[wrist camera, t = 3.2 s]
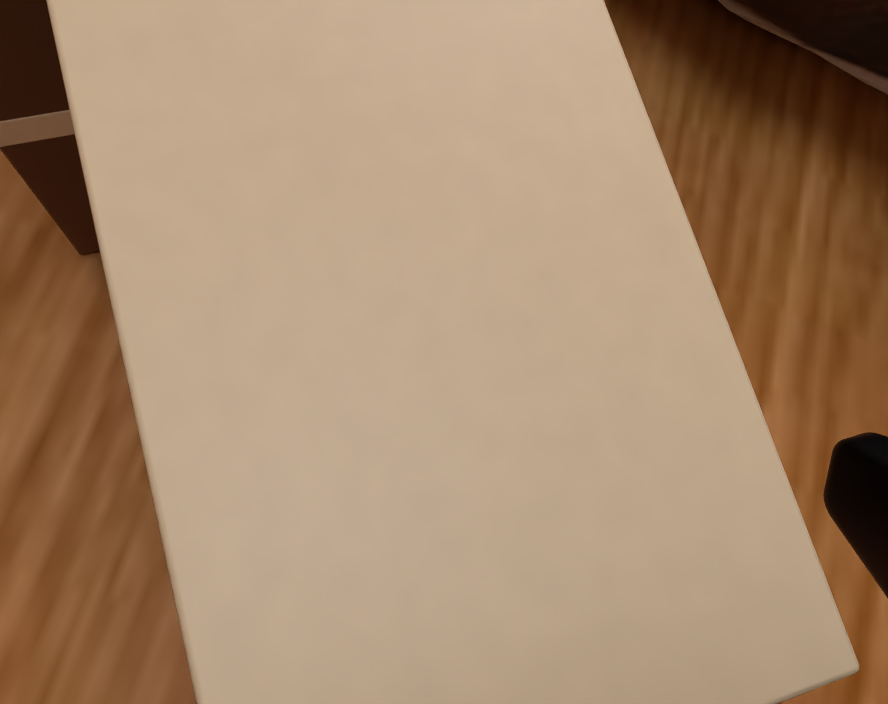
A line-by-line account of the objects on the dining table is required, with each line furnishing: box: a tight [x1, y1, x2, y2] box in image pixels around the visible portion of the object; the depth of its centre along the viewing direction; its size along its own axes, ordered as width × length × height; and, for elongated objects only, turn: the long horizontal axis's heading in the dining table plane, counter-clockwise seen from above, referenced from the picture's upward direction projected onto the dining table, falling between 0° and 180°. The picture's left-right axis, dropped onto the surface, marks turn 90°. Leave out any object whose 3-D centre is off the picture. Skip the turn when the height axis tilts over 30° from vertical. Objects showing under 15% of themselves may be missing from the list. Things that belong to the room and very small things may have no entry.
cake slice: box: [46, 0, 859, 704], centre depth 13 cm, size 9×5×12 cm, turn 17°
